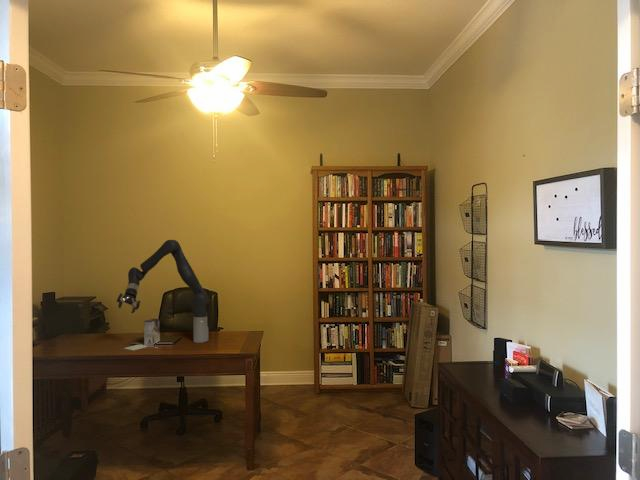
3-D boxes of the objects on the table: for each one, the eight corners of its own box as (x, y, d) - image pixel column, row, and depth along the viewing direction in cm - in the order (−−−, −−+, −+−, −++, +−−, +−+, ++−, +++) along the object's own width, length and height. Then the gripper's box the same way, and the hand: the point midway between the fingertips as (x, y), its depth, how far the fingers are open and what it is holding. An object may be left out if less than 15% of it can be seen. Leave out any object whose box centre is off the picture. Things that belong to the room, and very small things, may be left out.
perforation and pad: (141, 344, 307) (141, 343, 307) (157, 347, 299) (157, 346, 299) (124, 348, 295) (124, 347, 295) (141, 352, 288) (141, 351, 288)
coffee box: (151, 341, 315) (151, 318, 314) (160, 342, 313) (160, 318, 313) (143, 345, 306) (143, 321, 305) (152, 345, 304) (152, 321, 304)
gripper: (124, 284, 302) (118, 302, 290) (144, 292, 309) (139, 311, 297) (118, 290, 305) (112, 309, 293) (138, 298, 312) (133, 317, 300)
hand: (126, 310), depth 295 cm, fingers open, 8 cm apart
